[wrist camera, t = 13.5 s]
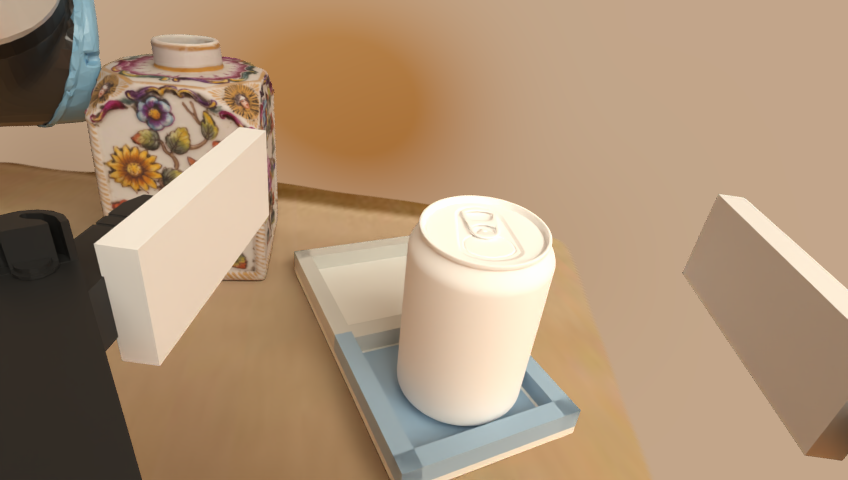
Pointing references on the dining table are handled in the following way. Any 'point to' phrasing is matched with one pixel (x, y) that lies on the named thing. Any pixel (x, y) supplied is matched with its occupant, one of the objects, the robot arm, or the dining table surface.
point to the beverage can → (471, 307)
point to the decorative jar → (179, 125)
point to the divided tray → (377, 369)
